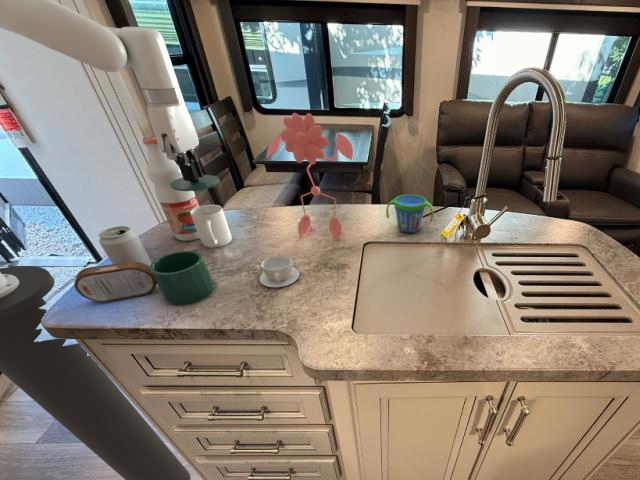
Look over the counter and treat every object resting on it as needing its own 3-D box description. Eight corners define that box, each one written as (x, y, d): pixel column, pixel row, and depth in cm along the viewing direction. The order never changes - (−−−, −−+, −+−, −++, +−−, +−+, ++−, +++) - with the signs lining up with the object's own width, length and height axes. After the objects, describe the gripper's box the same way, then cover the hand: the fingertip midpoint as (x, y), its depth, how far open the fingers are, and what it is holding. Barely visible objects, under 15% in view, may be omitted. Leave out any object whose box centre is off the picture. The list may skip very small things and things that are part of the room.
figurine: (289, 226, 108) (265, 106, 86) (363, 234, 105) (357, 112, 83) (266, 247, 96) (232, 114, 75) (349, 257, 93) (338, 121, 71)
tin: (164, 286, 80) (149, 256, 74) (162, 293, 77) (146, 263, 72) (90, 299, 75) (68, 269, 69) (86, 307, 72) (62, 276, 67)
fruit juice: (189, 226, 106) (151, 133, 88) (215, 230, 104) (181, 135, 87) (168, 239, 98) (121, 140, 81) (195, 243, 97) (154, 143, 80)
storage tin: (201, 305, 74) (187, 275, 69) (156, 304, 74) (138, 273, 69) (221, 280, 82) (210, 251, 77) (180, 279, 82) (167, 249, 77)
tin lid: (208, 194, 82) (198, 166, 77) (162, 192, 81) (150, 165, 77) (227, 179, 91) (220, 154, 86) (187, 178, 91) (177, 153, 86)
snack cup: (382, 232, 106) (382, 202, 100) (391, 219, 114) (391, 191, 108) (428, 239, 104) (431, 208, 97) (434, 225, 112) (437, 197, 105)
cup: (232, 233, 103) (222, 203, 96) (232, 251, 94) (221, 218, 88) (203, 237, 100) (191, 206, 94) (201, 256, 91) (187, 223, 85)
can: (156, 275, 83) (133, 233, 76) (121, 284, 80) (94, 240, 72) (153, 262, 88) (132, 221, 80) (120, 270, 84) (95, 228, 77)
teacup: (261, 269, 87) (257, 254, 84) (299, 265, 89) (296, 250, 86) (258, 291, 79) (253, 275, 76) (299, 286, 81) (296, 270, 78)
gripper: (168, 93, 80) (195, 169, 91) (123, 101, 67) (161, 188, 79) (198, 94, 80) (221, 170, 91) (159, 102, 67) (192, 189, 79)
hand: (193, 178), depth 85 cm, fingers closed on tin lid, 2 cm apart
